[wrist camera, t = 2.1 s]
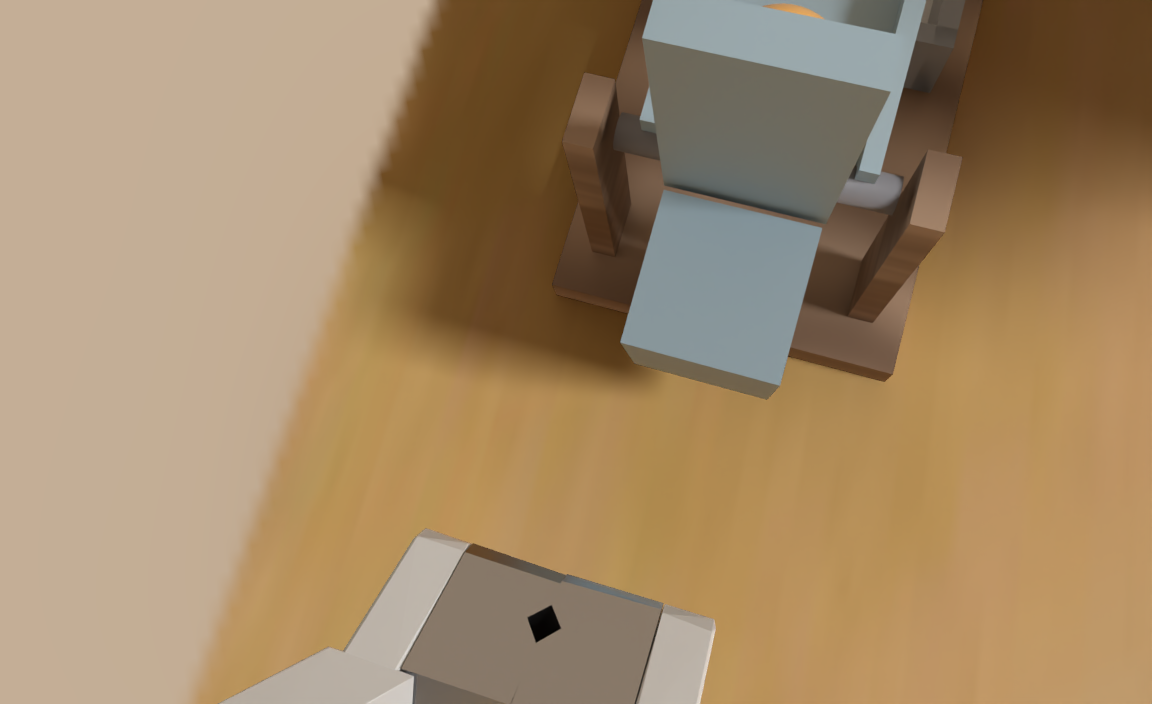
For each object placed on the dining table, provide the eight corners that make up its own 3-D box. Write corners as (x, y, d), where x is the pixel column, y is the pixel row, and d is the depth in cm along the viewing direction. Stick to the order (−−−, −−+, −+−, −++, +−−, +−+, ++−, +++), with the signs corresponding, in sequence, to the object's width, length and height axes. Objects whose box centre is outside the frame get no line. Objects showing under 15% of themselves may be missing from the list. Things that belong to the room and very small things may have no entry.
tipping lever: (819, 414, 34) (916, 368, 18) (585, 350, 36) (490, 257, 20) (945, -62, 36) (1135, -482, 20) (716, -105, 37) (724, -528, 21)
